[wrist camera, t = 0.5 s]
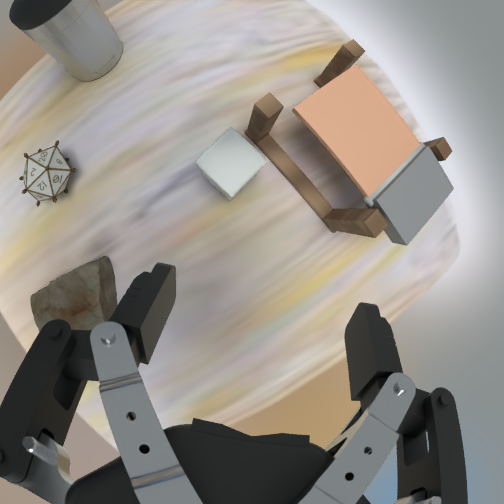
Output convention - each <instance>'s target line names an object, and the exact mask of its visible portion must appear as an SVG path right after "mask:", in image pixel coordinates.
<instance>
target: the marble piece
mask: <svg viewBox="0 0 504 504" xmlns="http://www.w3.org/2000/svg"><path fill="white" fill-rule="evenodd" d="M116 298H117V293H116V287H115V276H114V273H113V268H112V265H111V263H110V261H109V259H108V258H107V257H105V256H103V257H102V258H100V259H99V260H96V261H92V262H90V263H87V264H86V265H83V266H81V267H79V268H77V269H75V270H73V271H72V272H69V273H68V274H65V275H62V276H61V277H60V278H57V279H56V280H54V281H51V282H50V284H49V286H48V287H45V288H43V289H42V290H39V291H38V292H37V293H35V294H33V295H32V296H31V308H32V312H33V315H34V320H35V323H36V325H37V327H38V329H39V331H41V329H42V328H43V326H44V325H45V324H46V323H47V322H49V321H51V320H54V319H62V320H65V321H66V322H68V323H69V325H70V327H71V329H73V330H93V329H94V328H95V327H96V326H97V325H99V324H101V323H103V322H108V320H109V319H110V317H111V316H112V314H113V312H114V311H115V309H116V307H117V306H118V305H117V299H116Z"/></svg>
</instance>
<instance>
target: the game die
mask: <svg viewBox="0 0 504 504" xmlns="http://www.w3.org/2000/svg"><path fill="white" fill-rule="evenodd" d="M58 144H59V141H58V140H57V141H56V143H55V146H53V147H50V148H48V149H45V150H43V151H41V149H39V150H38V153H35V154H33V155H30V156H28V154H27V153H24V157H25V158H27V162H26V166H25V171H24V177H20V178H19V179H20V180H23V179H24V183H25V188H26V189H24V190H23V191H22V193H24V194H25V193H26V191H28V192H29V193H30V194H31V195H32V196H33V197H34V198H35V199H36V200H38V202H37V207H38V206H39V205H40V201H43V200H48V199H52V198H53V202H55V203H56V201H57V199H56V198H55V197H56V196H57V195H59V194H60V193H61V192H63V191H64V192H65V193H68V190H67V189H65V188H66V185H67V182H68V180H69V177H70V175H71V172H75V171H77V169H75V168H73V169H71V168H70V166H69V164H68V163H67V161H68V160H69V158H64V157H63V155H62V154H61V152H60V150H59V149H58V147H57V145H58Z"/></svg>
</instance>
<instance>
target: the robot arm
mask: <svg viewBox="0 0 504 504" xmlns="http://www.w3.org/2000/svg"><path fill="white" fill-rule="evenodd" d="M9 16H10V20H11V22H12V23H13V24H14V25H16V26H17V27H18V28H19V29H20V30H22V31H23V32H24V33H25V34H26V35H27V36H29V37H30V38H31V39H32V40H33V41H35V42H36V43H37V44H38V45H39V46H41V47H42V48H43V49H44V50H45V51H46V52H47V53H48V54H49V55H51V56H52V57H53V58H54V59H55V60H56V61H57V62H59V63H60V64H61V65H62V66H63V67H64V68H65V69H66V70H68V71H69V72H70V73H71V74H72V75H73V76H74V77H75V78H77V79H79V80H81V81H91V80H95V79H97V78H100V77H101V76H103V75H105V74H106V73H107V72H109V71H110V70H111V69H112V68H113V67H114V66H115V65H116V63H117V62H118V61H119V59H120V57H121V54H122V51H123V45H122V42H121V40H120V38H119V37H118V35H117V33H116V32H115V30H114V28H113V26H112V25H111V23H110V21H109V20H108V18H107V17H106V15H105V13H104V12H103V10H102V8H101V7H100V5H99V3H98V2H97V0H14V2H13V4H12V6H11V9H10V15H9ZM175 297H176V268H175V266H173V265H168V264H164V263H159V262H158V263H157V264H156V265H155V267H154V269H153V270H152V272H151V273H149V272H145V271H144V272H143V273H141V274H140V275H139V276H137V277H136V278H135V279H134V280H133V282H132V284H131V285H130V288H128V290H127V291H126V293H125V295H124V296H123V298H122V299H121V301H120V303H119V304H118V306H117V307H116V309H115V311H114V312H113V314H112V316H111V317H110V319H109V320H108V322H103V323H101V324H99V325H97V326H96V327H95V328H94V329H93V330H73V329H71V327H70V325H69V323H68V322H66V321H65V320H62V319H54V320H51V321H49V322H47V323H46V324H45V325H44V326H43V328H42V329H41V331H40V332H39V334H38V336H37V337H36V339H35V341H34V342H33V344H32V346H31V348H30V349H29V351H28V353H27V355H26V356H25V358H24V360H23V362H22V364H21V365H20V367H19V369H18V371H17V373H16V375H15V377H14V379H13V381H12V383H11V385H10V387H9V389H8V391H7V393H6V395H5V397H4V400H3V402H2V404H1V406H0V477H1V478H4V479H6V480H7V481H9V482H11V483H13V484H15V485H18V486H20V487H23V488H25V489H27V490H29V491H31V492H32V493H34V494H36V495H37V496H39V497H41V498H42V499H44V500H46V501H48V502H50V503H51V504H370V502H369V501H368V500H367V499H366V497H365V496H364V495H363V493H364V492H365V490H366V489H367V487H368V486H369V485H370V483H371V482H372V480H373V479H374V477H375V476H376V474H377V473H378V471H379V470H380V468H381V466H382V465H383V463H384V461H385V460H386V459H387V457H388V455H389V454H390V452H391V450H392V448H393V447H394V445H395V443H397V467H398V496H397V501H396V502H395V503H394V504H468V500H467V499H468V497H467V480H466V467H465V458H464V450H463V443H462V436H461V430H460V424H459V419H458V414H457V409H456V404H455V400H454V397H453V396H452V394H451V393H450V392H449V391H448V390H447V389H445V388H441V387H440V388H436V389H435V390H434V391H433V392H431V393H428V392H425V391H423V390H420V389H417V388H415V385H414V383H413V381H412V380H411V378H410V377H408V376H407V375H405V374H403V371H402V367H401V363H400V358H399V355H398V351H397V347H396V346H395V344H396V343H395V340H394V338H393V337H394V336H393V332H392V329H391V326H390V325H389V323H388V322H387V320H386V319H385V318H384V317H381V316H380V312H379V309H378V306H377V305H375V304H369V303H362V302H361V303H359V304H358V306H357V308H356V310H355V312H354V314H353V315H352V317H351V319H350V321H349V323H348V324H347V327H346V330H345V346H346V354H347V362H348V370H349V380H350V391H351V400H352V401H360V402H361V406H360V407H359V408H358V409H357V411H356V412H355V414H354V415H353V416H352V418H351V419H350V420H349V422H348V423H347V424H346V426H345V427H344V428H343V429H342V431H341V432H340V433H339V435H338V436H337V437H336V438H335V439H334V440H333V441H332V442H331V443H330V444H329V445H328V446H327V447H326V449H323V448H321V447H319V446H318V445H315V444H313V443H310V442H309V437H310V436H309V435H297V434H285V433H279V434H271V435H261V436H249V435H247V434H244V433H242V432H239V431H237V430H234V429H232V428H230V427H227V426H225V425H223V424H218V423H214V422H209V421H204V420H200V419H196V418H193V422H192V424H184V425H177V426H172V427H169V428H166V429H164V430H163V429H162V427H161V424H160V422H159V420H158V418H157V415H156V413H155V411H154V408H153V406H152V404H151V401H150V399H149V396H148V394H147V391H146V389H145V386H144V383H143V381H142V378H141V376H140V374H139V371H138V366H139V364H140V362H141V363H144V364H147V365H148V364H149V361H150V359H151V356H152V354H153V352H154V349H155V347H156V344H157V342H158V340H159V337H160V335H161V333H162V330H163V328H164V326H165V324H166V321H167V319H168V317H169V314H170V312H171V310H172V308H173V305H174V302H175ZM88 380H90V381H100V386H99V390H100V395H101V398H102V402H103V405H104V409H105V412H106V415H107V418H108V421H109V424H110V428H111V430H112V433H113V436H114V439H115V442H116V445H117V447H118V450H119V452H120V455H121V456H119V457H118V458H116V459H114V460H113V461H111V462H109V463H108V464H106V465H104V466H102V467H100V468H98V469H97V470H95V471H93V472H91V473H89V474H87V475H85V476H83V477H81V478H80V479H78V480H77V481H75V482H74V481H73V480H72V479H71V476H70V473H69V466H70V458H69V455H68V453H67V451H66V450H65V449H64V448H63V444H64V441H65V439H66V436H67V433H68V430H69V427H70V424H71V422H72V419H73V416H74V414H75V411H76V408H77V406H78V403H79V401H80V398H81V396H82V393H83V391H84V388H85V386H86V383H87V381H88ZM426 432H428V441H429V452H428V449H427V440H426Z"/></svg>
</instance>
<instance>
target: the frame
mask: <svg viewBox="0 0 504 504" xmlns="http://www.w3.org/2000/svg"><path fill="white" fill-rule="evenodd" d="M364 52H365V50H364V49H363V48H362V47H361V46H360V45H359V44H358V43H357V42H356V41H355V40H354V39H353V40H351V41H349V42H348V43H346V44H344V45H343V46H342V47H341V48H340V50H339V51H338V52H337V54H336V55H335V56H334V58H333V59H332V60H331V62H330V63H329V64H328V66H327V67H326V68H325V70H324V71H323V72H322V74H321V75H320V76H318V77H317V78H315V80H314V82H315V83H316V84H317V85H318V86H319V87H320V88H322V87H323V86H324V85H326V84H327V83H329V82H330V81H332V80H333V79H335V78H336V77H337V76H339V75H340V74H342V73H343V72H345V71H346V70H348V69H349V68H350V67H351V66H352V65H353V64H354V63H355V62H356V61H357V59H358V58H359V57H360V56H361V55H362V54H363V53H364ZM283 107H284V106H283V105H282V104H281V103H280V102H279V101H278V100H277V99H276V98H275V97H274V96H273V95H272V94H271V93H268V94H267V95H266V96H264V97H263V98H262V99H260V100H259V101H257V102H256V103H255V104H254V108H253V111H252V115H251V118H250V122H249V126H248V129H247V130H245V134H246V135H247V136H248V137H249V138H250V139H251V140H252V141H253V142H254V143H255V144H256V145H257V146H258V147H259V148H260V150H261V151H262V152H263V153H264V154H265V155H266V156H267V157H268V158H269V159H270V160H271V162H272V163H273V164H274V165H275V166H276V167H277V168H278V169H279V170H280V172H281V173H282V174H283V175H284V176H285V177H286V178H287V179H288V181H289V182H290V183H291V184H292V185H293V186H294V188H295V189H296V190H297V191H298V192H299V193H300V194H301V196H302V197H303V198H304V199H305V200H306V202H307V203H308V204H309V205H310V206H311V208H312V209H313V210H314V211H315V212H316V214H317V215H318V216H319V217H320V218H321V220H322V221H323V222H324V223H325V225H326V226H327V227H328V228H329V229H330V231H331V232H333V233H335V232H336V231H340V232H346V233H351V234H357V235H362V236H368V237H373V238H376V237H377V236H378V235H379V234H380V233H381V232H382V231H383V230H384V229H385V227H386V226H387V225H388V223H387V222H386V220H385V219H384V217H383V216H382V215H381V213H380V212H379V210H378V209H333V208H332V207H331V205H330V204H329V203H328V202H327V200H326V199H325V198H324V197H323V196H322V194H321V193H320V192H319V191H318V190H317V188H316V187H315V186H314V185H313V184H312V182H311V181H310V180H309V179H308V178H307V177H306V175H305V174H304V173H303V172H302V171H301V170H300V168H299V167H298V166H297V165H296V164H295V163H294V162H293V160H292V159H291V158H290V157H289V156H288V155H287V154H286V153H285V152H284V150H283V149H282V148H281V147H280V146H279V145H278V144H277V143H276V142H275V141H274V139H273V138H272V137H271V136H270V135H269V132H270V130H271V128H272V127H273V125H274V123H275V121H276V119H277V118H278V116H279V114H280V112H281V111H282V109H283ZM423 144H424V145H425V147H426V146H429V148H430V149H431V151H432V152H433V154H434V155H435V157H436V159H437V160H438V161H443V160H446V158H447V157H448V156H449V155H450V153H451V152H452V150H451V148H450V146H449V145H448V143H447V142H446V140H445V138H444V137H442V138H439V139H435V140H432V141H428V142H425V143H423Z"/></svg>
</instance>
